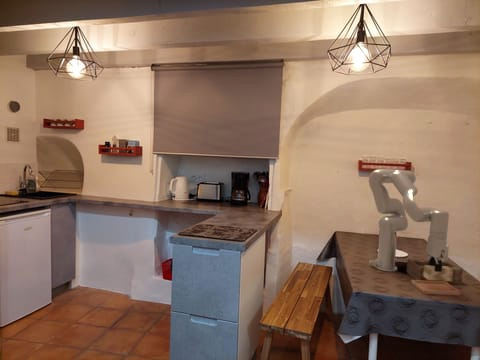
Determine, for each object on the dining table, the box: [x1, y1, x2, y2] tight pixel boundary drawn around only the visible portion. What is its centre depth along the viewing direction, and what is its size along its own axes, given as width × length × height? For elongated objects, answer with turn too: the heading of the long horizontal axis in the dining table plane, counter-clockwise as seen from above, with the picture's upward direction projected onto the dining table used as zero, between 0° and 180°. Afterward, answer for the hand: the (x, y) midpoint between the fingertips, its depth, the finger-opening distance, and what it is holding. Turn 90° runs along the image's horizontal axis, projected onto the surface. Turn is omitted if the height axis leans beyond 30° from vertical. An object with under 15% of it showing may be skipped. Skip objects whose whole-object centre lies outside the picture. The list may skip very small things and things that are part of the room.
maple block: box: [423, 265, 453, 281], centre depth 165 cm, size 12×4×6 cm, turn 89°
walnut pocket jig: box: [406, 258, 464, 285], centre depth 180 cm, size 22×14×8 cm, turn 89°
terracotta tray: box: [410, 279, 462, 296], centre depth 166 cm, size 18×13×2 cm
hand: (434, 269), depth 165 cm, fingers closed on maple block, 4 cm apart
